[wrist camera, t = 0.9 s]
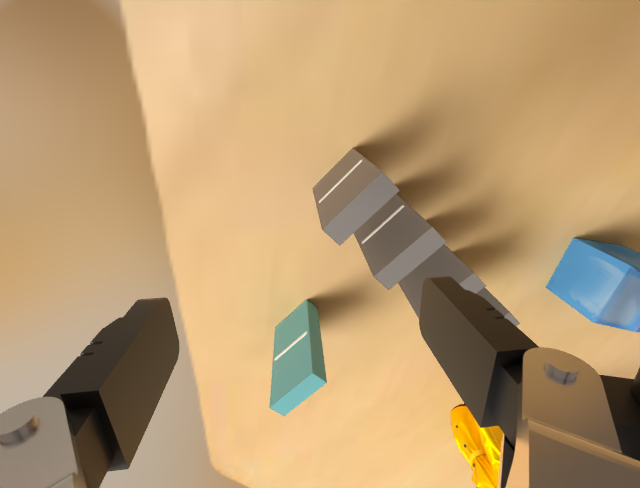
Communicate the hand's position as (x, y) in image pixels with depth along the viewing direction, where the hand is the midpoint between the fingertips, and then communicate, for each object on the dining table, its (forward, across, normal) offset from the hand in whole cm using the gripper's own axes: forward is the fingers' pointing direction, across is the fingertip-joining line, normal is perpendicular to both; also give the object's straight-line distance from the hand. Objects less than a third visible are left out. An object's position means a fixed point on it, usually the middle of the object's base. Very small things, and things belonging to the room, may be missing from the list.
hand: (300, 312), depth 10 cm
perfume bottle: (+20, -32, +10) cm, 39 cm away
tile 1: (+20, -4, -1) cm, 20 cm away
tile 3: (+20, -11, +6) cm, 24 cm away
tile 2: (+20, -8, +3) cm, 22 cm away
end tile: (+21, 0, +14) cm, 25 cm away
